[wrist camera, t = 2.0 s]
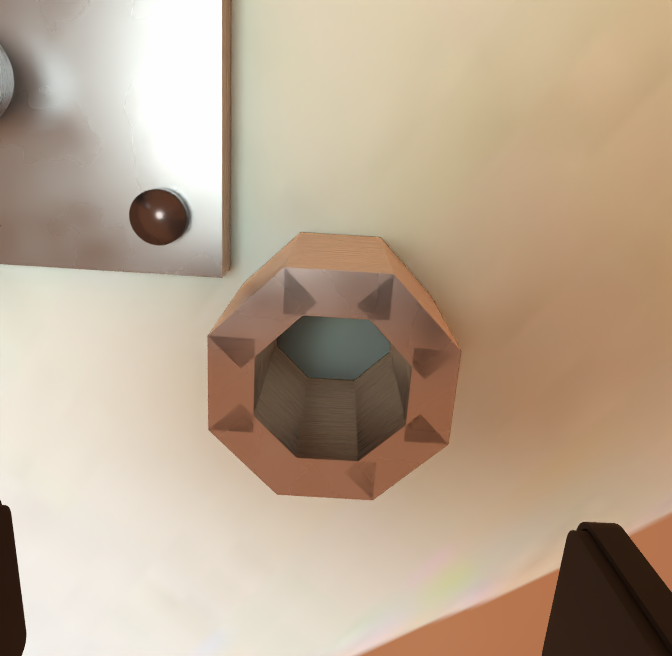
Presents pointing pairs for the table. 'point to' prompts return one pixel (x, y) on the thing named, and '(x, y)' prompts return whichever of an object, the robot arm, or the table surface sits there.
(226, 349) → the hub ring
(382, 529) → the table surface
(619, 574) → the robot arm
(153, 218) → the shaft block
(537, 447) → the table surface
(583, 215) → the table surface
